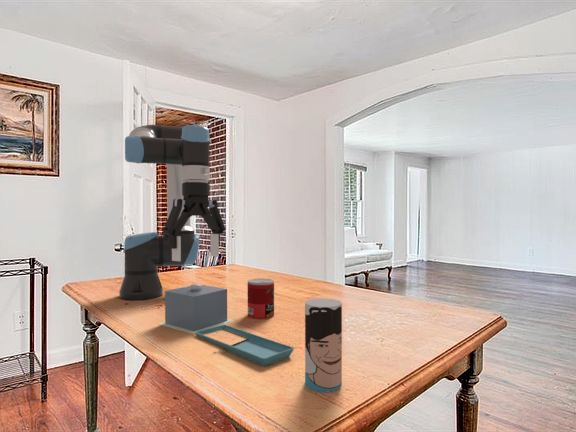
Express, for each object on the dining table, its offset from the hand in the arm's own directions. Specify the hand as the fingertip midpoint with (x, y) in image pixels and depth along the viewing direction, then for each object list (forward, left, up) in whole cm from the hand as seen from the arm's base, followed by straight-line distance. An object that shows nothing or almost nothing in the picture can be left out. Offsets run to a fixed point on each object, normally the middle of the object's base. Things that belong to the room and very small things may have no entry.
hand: (196, 258), depth 109 cm
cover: (0, 0, -18) cm, 18 cm away
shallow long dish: (+22, -6, -19) cm, 30 cm away
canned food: (+10, +16, -19) cm, 27 cm away
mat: (0, 0, -18) cm, 18 cm away
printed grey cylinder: (+48, -11, -19) cm, 53 cm away
